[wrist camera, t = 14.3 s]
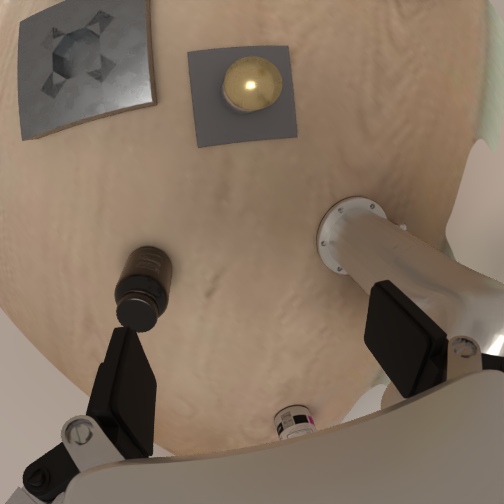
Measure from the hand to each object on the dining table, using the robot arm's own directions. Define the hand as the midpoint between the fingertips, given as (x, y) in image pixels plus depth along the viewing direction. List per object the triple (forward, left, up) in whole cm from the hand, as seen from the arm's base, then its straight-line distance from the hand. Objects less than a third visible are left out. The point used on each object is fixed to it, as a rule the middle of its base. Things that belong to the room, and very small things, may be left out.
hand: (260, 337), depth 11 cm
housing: (+15, -21, -30) cm, 40 cm away
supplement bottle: (+11, +10, -31) cm, 34 cm away
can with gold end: (-5, -12, -30) cm, 32 cm away
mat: (-5, -12, -30) cm, 33 cm away
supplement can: (-9, +52, -31) cm, 61 cm away
